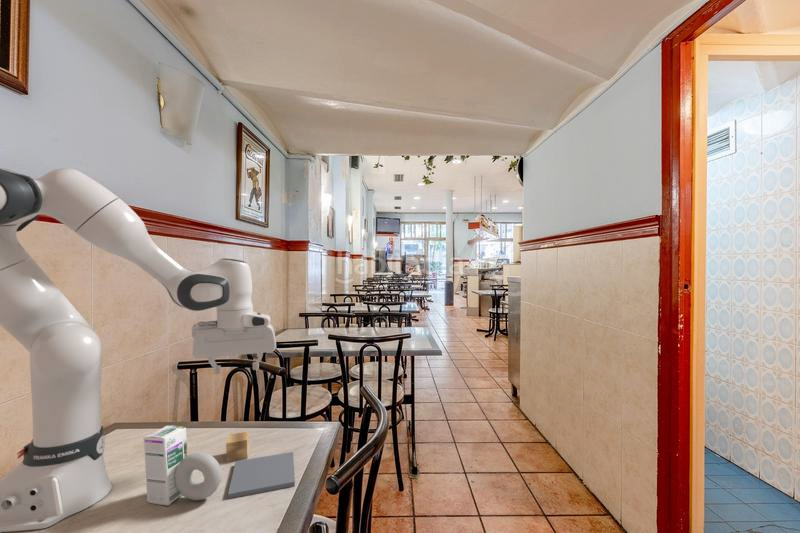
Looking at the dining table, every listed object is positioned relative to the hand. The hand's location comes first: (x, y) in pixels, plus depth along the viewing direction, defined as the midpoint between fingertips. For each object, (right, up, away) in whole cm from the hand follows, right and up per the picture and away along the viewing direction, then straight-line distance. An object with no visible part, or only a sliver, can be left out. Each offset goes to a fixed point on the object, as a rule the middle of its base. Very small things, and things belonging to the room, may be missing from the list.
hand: (236, 371), depth 98 cm
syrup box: (-8, -23, -17) cm, 30 cm away
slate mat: (+11, -23, -9) cm, 27 cm away
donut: (0, -23, -18) cm, 29 cm away
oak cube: (0, -23, 0) cm, 23 cm away
